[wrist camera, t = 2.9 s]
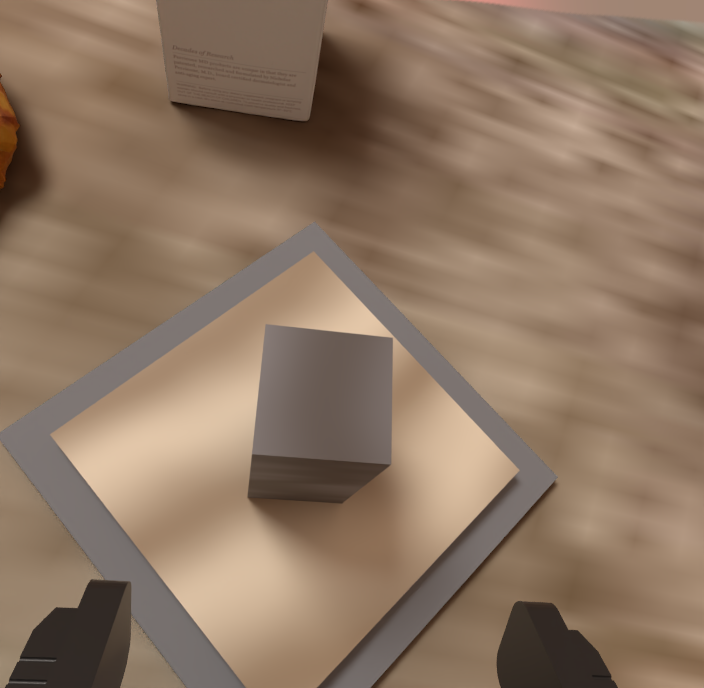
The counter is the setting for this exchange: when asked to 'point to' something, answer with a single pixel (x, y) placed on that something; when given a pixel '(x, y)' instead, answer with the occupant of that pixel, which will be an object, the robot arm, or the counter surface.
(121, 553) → the mat
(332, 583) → the lid
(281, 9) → the supplement box
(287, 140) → the counter surface
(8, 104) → the croissant
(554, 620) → the robot arm
